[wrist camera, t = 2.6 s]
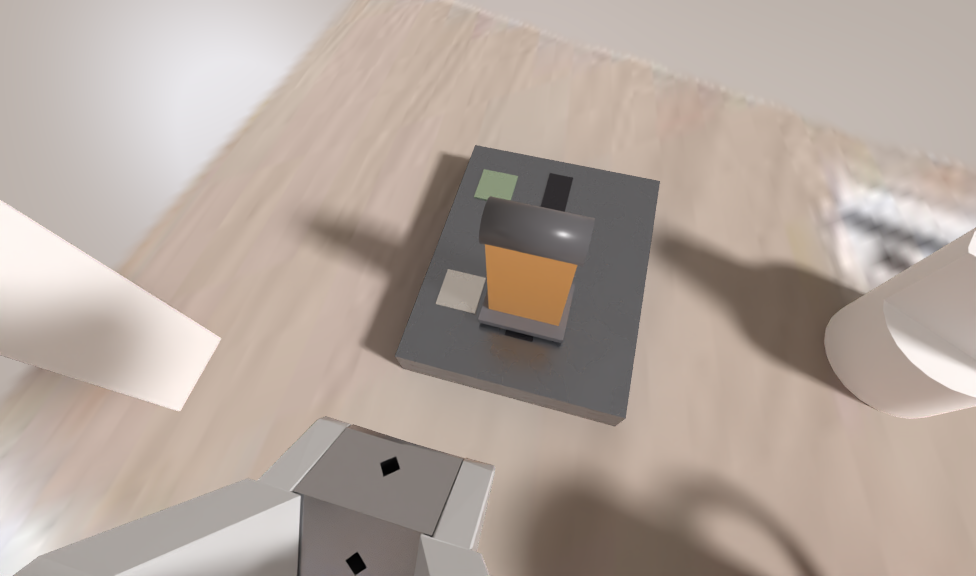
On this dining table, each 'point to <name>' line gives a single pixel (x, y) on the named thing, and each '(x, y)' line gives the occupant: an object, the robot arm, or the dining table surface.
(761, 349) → the dining table surface
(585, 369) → the grey slotted base
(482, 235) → the handle
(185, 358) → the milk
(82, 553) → the robot arm
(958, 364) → the cylinder with rectangular tab
